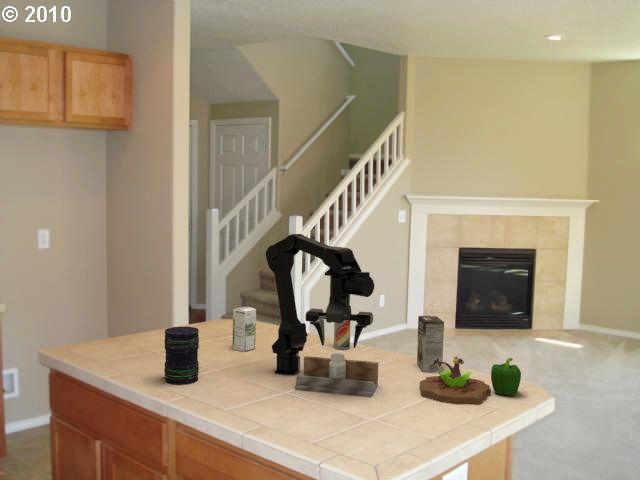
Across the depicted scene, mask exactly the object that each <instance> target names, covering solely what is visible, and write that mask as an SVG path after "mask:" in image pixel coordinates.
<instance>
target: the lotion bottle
mask: <svg viewBox="0 0 640 480" xmlns="http://www.w3.org/2000/svg"><path fill="white" fill-rule="evenodd" d="M351 322H352V321H348V320H344V321H343V322H342V323H335V322H333V325H334V327H333V348H334V349H335V350H349V349H350V347H351Z"/></svg>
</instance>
